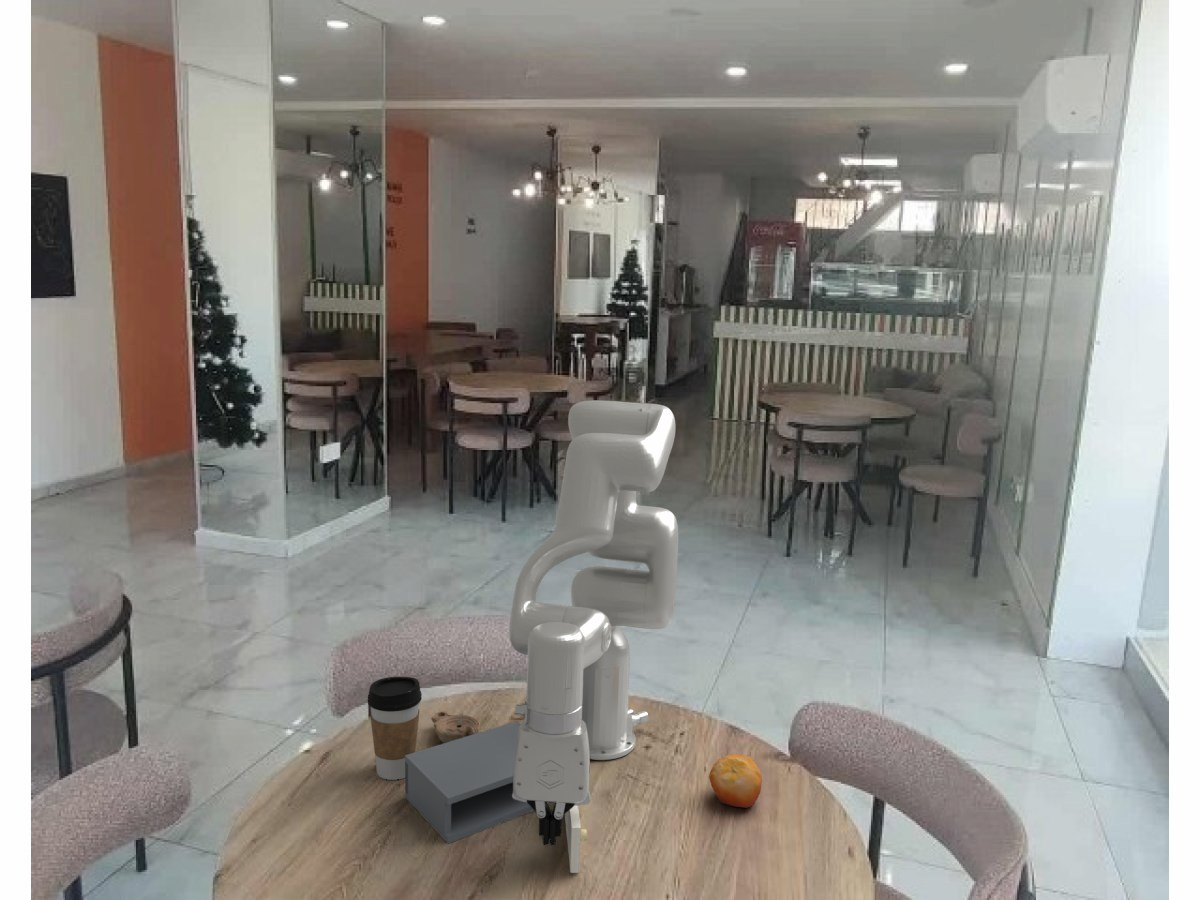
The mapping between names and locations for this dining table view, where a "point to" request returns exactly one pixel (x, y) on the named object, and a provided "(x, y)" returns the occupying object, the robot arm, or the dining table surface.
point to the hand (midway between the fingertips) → (550, 839)
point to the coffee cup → (394, 723)
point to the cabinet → (466, 783)
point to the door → (574, 838)
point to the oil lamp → (454, 726)
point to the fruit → (736, 780)
